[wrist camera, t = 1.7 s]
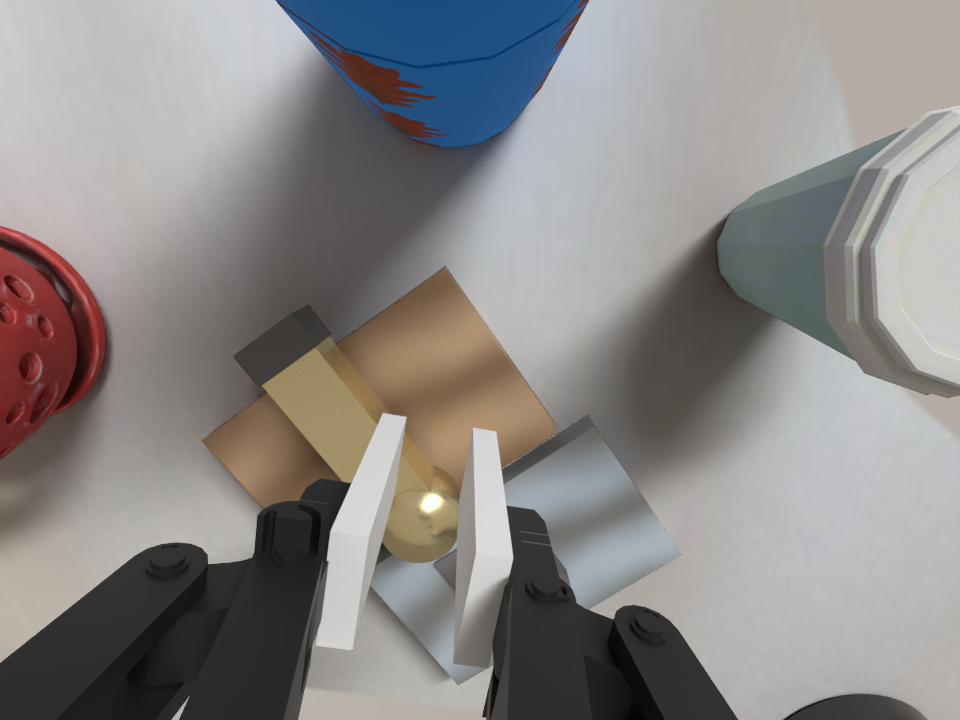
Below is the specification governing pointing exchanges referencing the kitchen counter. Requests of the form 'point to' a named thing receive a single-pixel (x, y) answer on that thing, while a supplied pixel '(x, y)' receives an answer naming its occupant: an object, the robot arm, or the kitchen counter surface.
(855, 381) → the kitchen counter surface
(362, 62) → the thermos
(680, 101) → the kitchen counter surface
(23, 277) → the plant pot
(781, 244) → the disposable coffee cup
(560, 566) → the door and jamb
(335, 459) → the swing bar
